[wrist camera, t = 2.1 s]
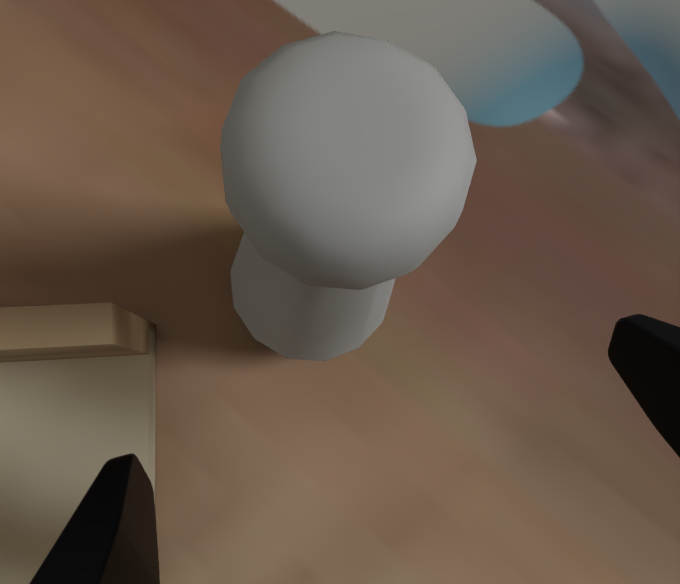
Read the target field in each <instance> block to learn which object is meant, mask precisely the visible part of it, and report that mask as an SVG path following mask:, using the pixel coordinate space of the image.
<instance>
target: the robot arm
mask: <svg viewBox="0 0 680 584" xmlns="http://www.w3.org/2000/svg"><path fill="white" fill-rule="evenodd" d="M608 356H609V359H610V362H611V363H612V365H613V366H614V368H615V369H616V371H617V372H618V374H619V375H620V377H621V378H622V380H623V381H624V383H625V384H626V386H627V387H628V389H629V390H630V392H631V393H632V394H633V396H634V397H635V399H636V400H637V402H638V403H639V405H640V406H641V408H642V409H643V411H644V412H645V414H646V415H647V417H648V418H649V419H650V421H651V422H652V424H653V425H654V426H655V428H656V429H657V430H658V432H659V433H660V434H661V436H662V437H663V438H664V439H665V441H666V442H667V443H668V444H669V445H670V447H671V448H672V449H673V450H674V451H675V453H676V454H677V455H678V456H679V457H680V327H678V326H675V325H672V324H669V323H666V322H663V321H660V320H657V319H654V318H651V317H648V316H645V315H642V314H636V315H632V316H628V317H624V318H621V319H619V320H618V321H617V322H616V325H615V328H614V331H613V334H612V338H611V341H610V345H609V348H608ZM29 584H160V578H159V561H158V547H157V532H156V517H155V502H154V492H153V487H152V484H151V481H150V479H149V477H148V475H147V474H146V472H145V470H144V468H143V466H142V464H141V463H140V461H139V459H138V457H137V456H136V455H135V454H133V453H131V454H130V453H129V454H126V455H122V456H118V457H115V458H111V459H109V460H108V461H107V462H106V463H105V464H104V465H103V467H102V468H101V470H100V472H99V473H98V475H97V476H96V478H95V480H94V481H93V483H92V484H91V486H90V488H89V489H88V491H87V492H86V494H85V496H84V497H83V499H82V500H81V502H80V504H79V505H78V507H77V508H76V510H75V512H74V513H73V515H72V516H71V518H70V520H69V521H68V523H67V524H66V526H65V527H64V529H63V531H62V532H61V534H60V535H59V537H58V539H57V540H56V542H55V543H54V545H53V547H52V548H51V550H50V551H49V553H48V555H47V556H46V558H45V559H44V561H43V563H42V564H41V566H40V567H39V569H38V571H37V572H36V574H35V575H34V577H33V578H32V580H31V582H30V583H29Z"/></svg>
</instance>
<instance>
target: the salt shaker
mask: <svg viewBox="0 0 680 584" xmlns="http://www.w3.org/2000/svg"><path fill="white" fill-rule="evenodd" d="M220 149H221V160H222V170H223V180H224V191H225V201H226V203H227V205H228V207H229V209H230V211H231V214H232V215H233V217H234V218H235V220H236V221H237V223H238V224H239V226H240V227H241V228H242V230H243V231H244V234H243V236H242V239H241V242H240V245H239V248H238V251H237V254H236V256H235V259H234V262H233V265H232V268H231V271H230V274H231V285H232V297H233V307H234V309H235V310H236V312H237V313H238V315H239V316H240V318H241V319H242V321H243V322H244V324H245V325H246V327H247V328H248V330H249V331H250V333H251V334H252V336H253V337H254V339H256V340H257V341H259V342H261V343H262V344H264V345H266V346H267V347H269V348H270V349H272V350H274V351H275V352H277V353H279V354H280V355H282V356H284V357H285V358H290V359H303V360H315V361H326V360H329V359H331V358H334V357H337V356H339V355H342V354H344V353H347V352H350V351H352V350H355V349H358V348H359V347H360V346H361V345H362V344H363V343H364V342H365V341H366V339H367V338H368V337H369V336H370V335H371V334H372V333H373V332H374V331H375V330H376V329H377V327H378V326H379V325H380V324H381V323H382V322H383V319H384V316H385V313H386V309H387V306H388V303H389V299H390V296H391V293H392V289H393V286H394V282H395V278H397V277H400V276H403V275H406V274H409V273H410V272H411V271H413V270H414V269H416V268H417V267H419V266H420V265H421V264H422V262H423V261H424V260H425V259H426V258H427V257H428V256H429V255H430V254H431V253H432V251H433V250H434V249H435V248H436V247H437V246H438V245H439V244H440V243H441V242H442V240H443V239H444V238H445V237H446V236H447V235H448V234H449V233H450V232H451V231H452V229H453V228H454V227H455V225H456V223H457V221H458V219H459V217H460V215H461V212H462V210H463V207H464V203H465V200H466V196H467V193H468V189H469V186H470V182H471V179H472V175H473V172H474V168H475V165H476V161H477V160H476V156H475V151H474V147H473V142H472V138H471V133H470V129H469V124H468V120H467V115H466V111H465V109H464V108H463V106H462V105H461V103H460V102H459V101H458V99H457V98H456V96H455V95H454V94H453V92H452V91H451V90H450V88H449V87H448V85H447V84H446V83H445V81H444V80H443V79H442V77H441V76H440V74H439V73H438V72H437V70H436V69H435V67H433V66H431V65H430V64H428V63H426V62H424V61H423V60H421V59H419V58H418V57H416V56H414V55H412V54H411V53H409V52H407V51H405V50H404V49H402V48H400V47H399V46H397V45H395V44H394V43H392V42H390V41H388V40H384V39H377V38H372V37H366V36H360V35H353V34H347V33H341V32H335V31H333V32H330V33H326V34H322V35H319V36H315V37H311V38H308V39H304V40H300V41H296V42H293V43H289V44H285V45H282V46H281V47H280V48H279V49H277V50H276V51H275V52H274V53H272V54H271V55H270V56H269V57H268V58H266V59H265V60H264V61H263V62H261V63H260V64H259V65H258V66H257V67H255V68H254V69H253V70H252V71H250V72H249V73H248V74H247V75H246V76H244V77H243V78H242V79H241V82H240V84H239V87H238V89H237V92H236V95H235V97H234V100H233V102H232V105H231V107H230V110H229V112H228V115H227V117H226V120H225V123H224V125H223V128H222V136H221V145H220Z"/></svg>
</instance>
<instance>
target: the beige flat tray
mask: <svg viewBox="0 0 680 584" xmlns="http://www.w3.org/2000/svg"><path fill="white" fill-rule="evenodd" d="M155 397H156V325H155V324H153V323H151V322H149V321H147V320H145V319H143V318H141V317H139V316H138V315H136V314H134V313H132V312H130V311H128V310H126V309H124V308H122V307H120V306H119V305H117V304H115V303H113V302H109V303H86V304H63V305H40V306H17V307H0V584H29V583H30V582H31V580H32V578H33V577H34V575H35V574H36V572H37V571H38V569H39V567H40V566H41V564H42V563H43V561H44V559H45V558H46V556H47V555H48V553H49V551H50V550H51V548H52V547H53V545H54V543H55V542H56V540H57V539H58V537H59V535H60V534H61V532H62V531H63V529H64V527H65V526H66V524H67V523H68V521H69V520H70V518H71V516H72V515H73V513H74V512H75V510H76V508H77V507H78V505H79V504H80V502H81V500H82V499H83V497H84V496H85V494H86V492H87V491H88V489H89V488H90V486H91V484H92V483H93V481H94V480H95V478H96V476H97V475H98V473H99V472H100V470H101V468H102V467H103V465H104V464H105V463H106V462H107V461H108V460H109V459H111V458H115V457H118V456H122V455H126V454H129V453H130V454H131V453H133V454H135V455H136V456H137V457H138V459H139V461H140V463H141V464H142V466H143V468H144V470H145V472H146V474H147V475H148V477H149V479H150V481H151V484H152V487H153V492H154V502H155Z"/></svg>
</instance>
